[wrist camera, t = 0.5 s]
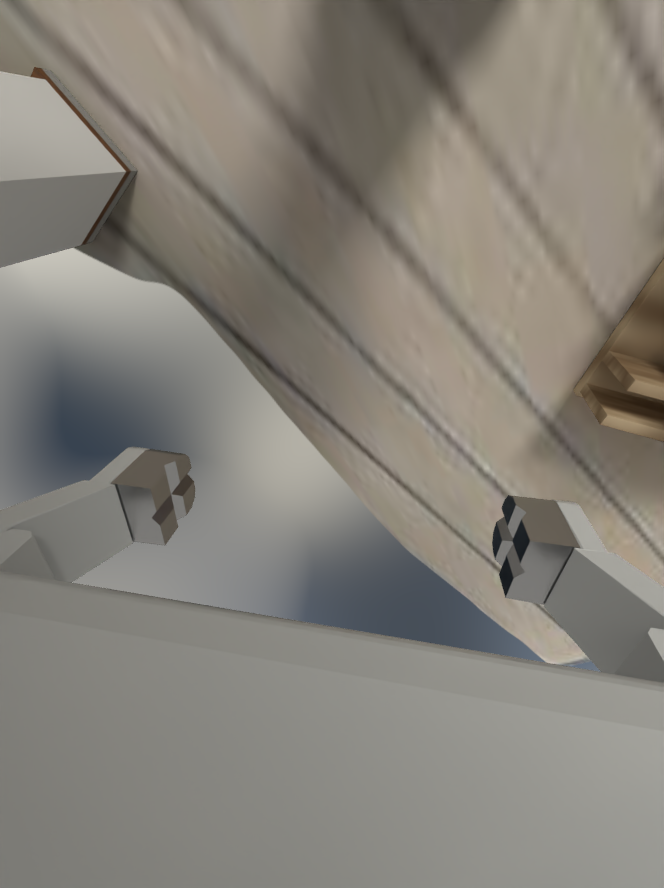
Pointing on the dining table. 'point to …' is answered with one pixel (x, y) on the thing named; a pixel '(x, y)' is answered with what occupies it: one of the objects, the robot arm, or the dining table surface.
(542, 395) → the dining table surface
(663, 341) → the rack
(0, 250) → the grey stacked pillar
